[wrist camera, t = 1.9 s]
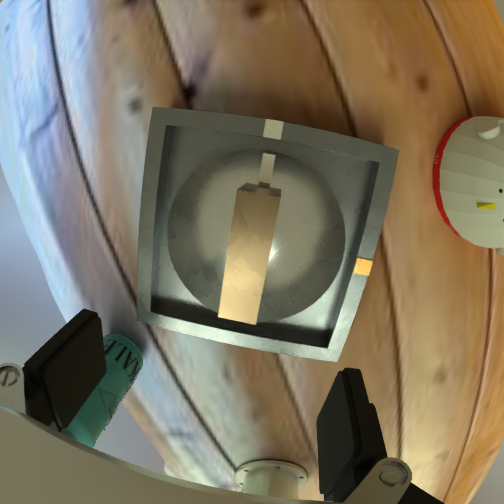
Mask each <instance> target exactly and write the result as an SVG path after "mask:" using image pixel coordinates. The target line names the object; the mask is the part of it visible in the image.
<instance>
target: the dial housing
mask: <svg viewBox="0 0 504 504" xmlns="http://www.w3.org/2000/svg"><path fill="white" fill-rule="evenodd" d="M246 149H261V150H270V151H274V152H278V153H282V154H285V155H287V156H290V157H292V158H295V159H296V160H298V161H300V162H302V163H303V164H305V165H307V166H308V167H309V168H311V169H312V170H313V171H314V172H316V173H317V174H318V175H319V176H320V177H321V178H322V179H323V180H324V181H325V183H326V184H327V185H328V187H329V188H330V190H331V191H332V192H333V194H334V196H335V198H336V200H337V202H338V204H339V207H340V209H341V212H342V215H343V220H344V224H345V234H346V241H345V251H344V256H343V261H342V264H341V267H340V269H339V272H338V274H337V276H336V278H335V280H334V281H333V283H332V284H331V286H330V287H329V289H328V290H327V291H326V292H325V293H324V294H323V295H322V297H321V298H320V299H318V300H317V301H316V302H315V303H314V304H313V305H311V306H310V307H308V308H307V309H305V310H303V311H302V312H300V313H298V314H295V315H293V316H291V317H288V318H285V319H281V320H277V321H271V322H256V325H255V324H249V323H244V322H239V321H235V320H230V319H225V318H220V317H218V314H219V313H217V312H215V311H213V310H211V309H209V308H208V307H207V306H205V305H204V304H202V303H201V302H200V301H199V300H197V299H196V298H195V297H194V296H193V295H192V294H191V293H190V292H189V291H188V289H187V288H186V287H185V286H184V284H183V283H182V281H181V280H180V279H179V277H178V275H177V273H176V271H175V269H174V267H173V264H172V261H171V259H170V255H169V250H168V244H167V223H168V217H169V213H170V209H171V206H172V203H173V201H174V199H175V197H176V194H177V193H178V191H179V190H180V188H181V186H182V185H183V184H184V182H185V181H186V180H187V179H188V178H189V176H190V175H191V174H193V173H194V172H195V171H196V170H197V169H198V168H199V167H201V166H202V165H204V164H205V163H207V162H208V161H210V160H212V159H214V158H216V157H218V156H220V155H223V154H227V153H230V152H233V151H239V150H246ZM398 153H399V150H397V149H394V148H390V147H387V146H384V145H380V144H377V143H373V142H369V141H366V140H362V139H358V138H354V137H350V136H346V135H342V134H338V133H334V132H330V131H325V130H321V129H316V128H312V127H307V126H302V125H297V124H292V123H286V122H282V121H276V120H271V119H263V118H257V117H250V116H243V115H236V114H228V113H219V112H210V111H200V110H189V109H176V108H160V107H153V109H152V115H151V122H150V128H149V135H148V142H147V150H146V158H145V166H144V175H143V185H142V196H141V208H140V222H139V239H138V265H137V321H139V322H143V323H146V324H150V325H154V326H157V327H161V328H165V329H169V330H173V331H177V332H181V333H185V334H189V335H193V336H197V337H201V338H206V339H210V340H215V341H219V342H224V343H228V344H233V345H238V346H243V347H248V348H253V349H258V350H264V351H269V352H275V353H280V354H286V355H292V356H299V357H305V358H312V359H318V360H325V361H333V362H338V359H339V356H340V354H341V351H342V349H343V346H344V344H345V341H346V338H347V336H348V333H349V330H350V328H351V325H352V322H353V319H354V316H355V314H356V311H357V308H358V305H359V302H360V299H361V296H362V293H363V290H364V287H365V284H366V280H367V277H368V276H369V273H370V270H371V267H372V263H373V257H374V254H375V250H376V247H377V243H378V240H379V236H380V232H381V228H382V225H383V221H384V217H385V213H386V209H387V205H388V200H389V196H390V192H391V187H392V183H393V178H394V173H395V168H396V163H397V158H398Z"/></svg>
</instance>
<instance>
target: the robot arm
mask: <svg viewBox="0 0 504 504" xmlns="http://www.w3.org/2000/svg"><path fill="white" fill-rule="evenodd" d="M24 365H25V366H24V367H23V368H22V369H21V368H20V367H19V366H18V365H16V364H13V363H4V364H1V365H0V504H444V503H443V502H441V501H439V500H438V499H436V498H435V497H433V496H431V495H430V494H428V493H427V492H425V491H423V490H422V489H420V488H419V487H417V486H416V485H414V484H413V483H411V480H412V472H411V469H410V468H409V466H408V465H407V464H406V463H405V462H403V461H402V460H400V459H397V458H392V457H390V458H388V457H387V452H386V448H385V444H384V440H383V436H382V432H381V428H380V424H379V420H378V416H377V412H376V408H375V406H374V404H372V403H369V400H368V396H367V392H366V389H365V385H364V381H363V377H362V374H361V371H360V369H354V368H344V370H343V371H339V372H338V374H337V376H336V378H335V381H334V383H333V385H332V387H331V390H330V392H329V394H328V396H327V398H326V401H325V403H324V405H323V407H322V409H321V411H320V413H319V415H318V418H317V442H318V462H319V490H320V494H324V501H314V500H299V499H298V490H300V489H301V488H303V487H304V486H305V485H306V483H307V473H306V472H305V470H303V469H302V468H301V467H299V466H297V465H295V464H292V463H288V462H283V461H275V460H262V461H255V462H250V463H247V464H244V465H242V466H241V467H239V468H238V469H237V471H236V473H235V481H236V483H237V484H238V485H239V486H240V487H242V492H236V491H231V490H225V489H220V488H216V487H211V486H206V485H202V484H198V483H194V482H190V481H186V480H182V479H178V478H175V477H171V476H168V475H164V474H161V473H158V472H155V471H152V470H149V469H145V468H143V467H140V466H137V465H134V464H131V463H129V462H126V461H123V460H121V459H118V458H115V457H113V456H110V455H108V454H105V453H103V452H100V451H98V450H96V449H94V448H91V447H89V446H87V445H85V444H83V443H81V442H78V441H76V440H74V439H72V438H70V437H68V436H66V435H64V434H62V433H60V432H61V431H62V429H63V428H67V427H68V426H69V424H70V423H71V422H72V420H73V419H74V417H75V416H76V414H77V413H78V412H79V410H80V409H81V407H82V406H83V404H84V403H85V402H86V400H87V399H88V397H89V396H90V395H91V393H92V392H93V390H94V389H95V388H96V386H97V385H98V384H99V382H100V381H101V379H102V378H103V377H104V375H105V373H106V369H107V366H106V359H105V351H104V343H103V334H102V324H101V318H100V317H98V314H97V313H96V312H93V311H90V310H87V309H83V310H81V311H80V312H79V313H78V314H77V315H76V316H75V317H73V318H72V319H71V320H70V321H69V322H68V323H67V324H66V325H65V326H64V327H63V328H61V329H60V330H59V331H58V332H57V333H56V334H55V335H54V336H53V337H52V338H51V339H49V340H48V341H47V342H46V343H45V344H44V345H43V346H42V347H41V348H40V349H39V350H38V351H37V352H36V353H35V354H34V355H33V356H32V357H31V358H30V359H29V360H28V361H26V362H25V364H24ZM326 501H333V502H326Z"/></svg>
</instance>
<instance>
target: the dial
mask: <svg viewBox="0 0 504 504" xmlns="http://www.w3.org/2000/svg"><path fill="white" fill-rule="evenodd" d="M345 241H346V234H345V224H344V220H343V215H342V212H341V209H340V207H339V204H338V202H337V200H336V198H335V196H334V194H333V192H332V191H331V190H330V188H329V187H328V185H327V184H326V183H325V181H324V180H323V179H322V178H321V177H320V176H319V175H318V174H317V173H316V172H314V171H313V170H312V169H311V168H309V167H308V166H307V165H305V164H303V163H302V162H300V161H298V160H296V159H295V158H292V157H290V156H287V155H285V154H282V153H278V152H274V151H270V150H261V149H246V150H239V151H233V152H230V153H227V154H223V155H220V156H218V157H216V158H214V159H212V160H210V161H208V162H207V163H205V164H204V165H202V166H201V167H199V168H198V169H197V170H196V171H195V172H194V173H193V174H191V175H190V176H189V178H188V179H187V180H186V181H185V182H184V184H183V185H182V186H181V188H180V190H179V191H178V193H177V194H176V197H175V199H174V201H173V203H172V206H171V209H170V213H169V217H168V223H167V244H168V250H169V255H170V259H171V261H172V264H173V267H174V269H175V271H176V273H177V275H178V277H179V279H180V280H181V281H182V283H183V284H184V286H185V287H186V288H187V289H188V291H189V292H190V293H191V294H192V295H193V296H194V297H195V298H196V299H197V300H199V301H200V302H201V303H202V304H204V305H205V306H207V307H208V308H209V309H211V310H213V311H215V312H217V313H219V314H218V317H220V318H225V319H230V320H235V321H239V322H244V323H249V324H255V325H256V322H271V321H277V320H281V319H285V318H288V317H291V316H293V315H295V314H298V313H300V312H302V311H303V310H305V309H307V308H308V307H310V306H311V305H313V304H314V303H315V302H316V301H317V300H318V299H320V298H321V297H322V295H323V294H324V293H325V292H326V291H327V290H328V289H329V287H330V286H331V284H332V283H333V281H334V280H335V278H336V276H337V274H338V272H339V269H340V267H341V264H342V261H343V256H344V251H345Z"/></svg>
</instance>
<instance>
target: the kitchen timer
mask: <svg viewBox="0 0 504 504" xmlns="http://www.w3.org/2000/svg"><path fill="white" fill-rule="evenodd" d="M433 190H434V195H435V199H436V204H437V207H438V209H439V211H440V213H441V215H442V217H443V219H444V221H445V223H446V224H447V225H448V226H449V227H450V228H451V229H452V231H453V232H454V233H455V234H457V235H459V236H460V237H462V238H464V239H466V240H467V241H469V242H471V243H473V244H474V245H477V246H481V247H488V248H495V249H496V252H497V253H498V254H500V255H504V118H500V117H492V116H475V117H467V118H465V119H463V120H461V121H458V122H456V123H455V124H454V125H453V126H452V127H451V128H450V129H449V130H448V131H447V132H446V133H445V134H444V136H443V138H442V140H441V142H440V144H439V146H438V148H437V150H436V155H435V160H434V165H433Z"/></svg>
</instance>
